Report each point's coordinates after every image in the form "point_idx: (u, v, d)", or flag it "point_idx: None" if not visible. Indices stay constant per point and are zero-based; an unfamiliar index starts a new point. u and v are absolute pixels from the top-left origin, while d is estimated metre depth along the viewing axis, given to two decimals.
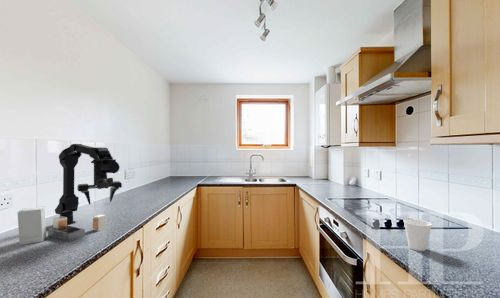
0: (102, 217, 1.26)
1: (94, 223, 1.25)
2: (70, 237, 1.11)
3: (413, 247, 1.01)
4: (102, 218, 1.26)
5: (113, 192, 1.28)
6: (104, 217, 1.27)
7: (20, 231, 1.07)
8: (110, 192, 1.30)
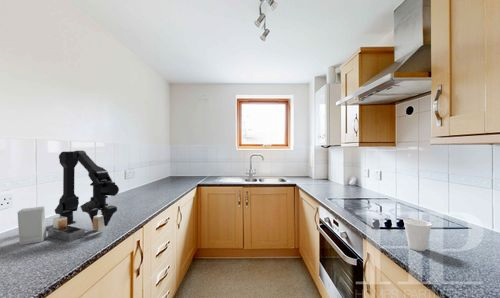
0: (102, 217, 1.26)
1: (94, 223, 1.25)
2: (70, 237, 1.11)
3: (413, 247, 1.01)
4: (102, 218, 1.26)
5: (104, 217, 1.23)
6: None
7: (20, 231, 1.07)
8: None
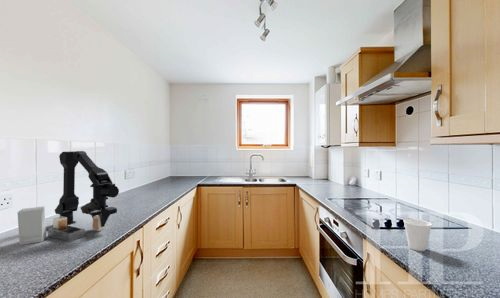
0: None
1: (94, 223, 1.25)
2: (70, 237, 1.11)
3: (413, 247, 1.01)
4: None
5: (101, 218, 1.24)
6: None
7: (20, 231, 1.07)
8: None
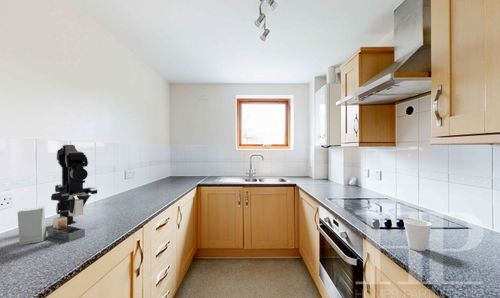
0: None
1: None
2: (70, 237, 1.11)
3: (413, 247, 1.01)
4: None
5: None
6: None
7: (20, 231, 1.07)
8: None
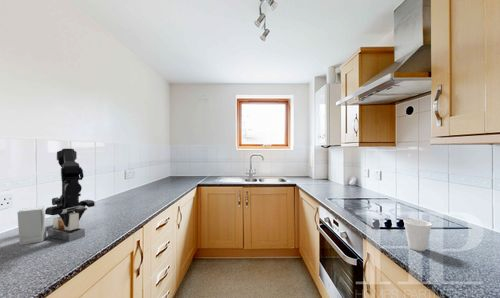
0: None
1: None
2: (70, 237, 1.11)
3: (413, 247, 1.01)
4: None
5: None
6: None
7: (20, 231, 1.07)
8: None
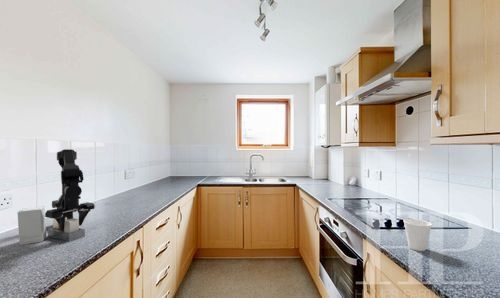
0: (67, 222, 1.14)
1: None
2: (70, 237, 1.11)
3: (413, 247, 1.01)
4: (66, 223, 1.14)
5: None
6: (68, 223, 1.13)
7: (20, 231, 1.07)
8: None
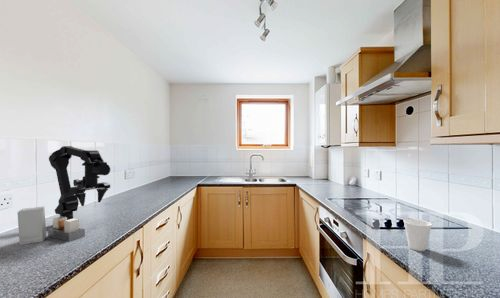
0: (67, 222, 1.14)
1: None
2: (70, 237, 1.11)
3: (413, 247, 1.01)
4: (66, 223, 1.14)
5: None
6: (68, 223, 1.13)
7: (20, 231, 1.07)
8: None
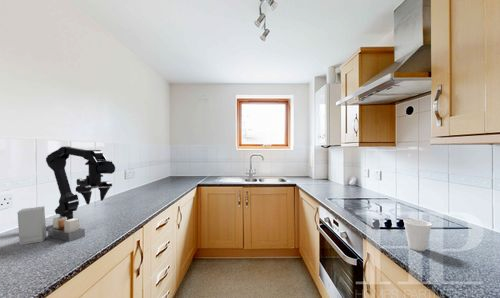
0: (67, 222, 1.14)
1: None
2: (70, 237, 1.11)
3: (413, 247, 1.01)
4: (66, 223, 1.14)
5: None
6: (68, 223, 1.13)
7: (20, 231, 1.07)
8: None
